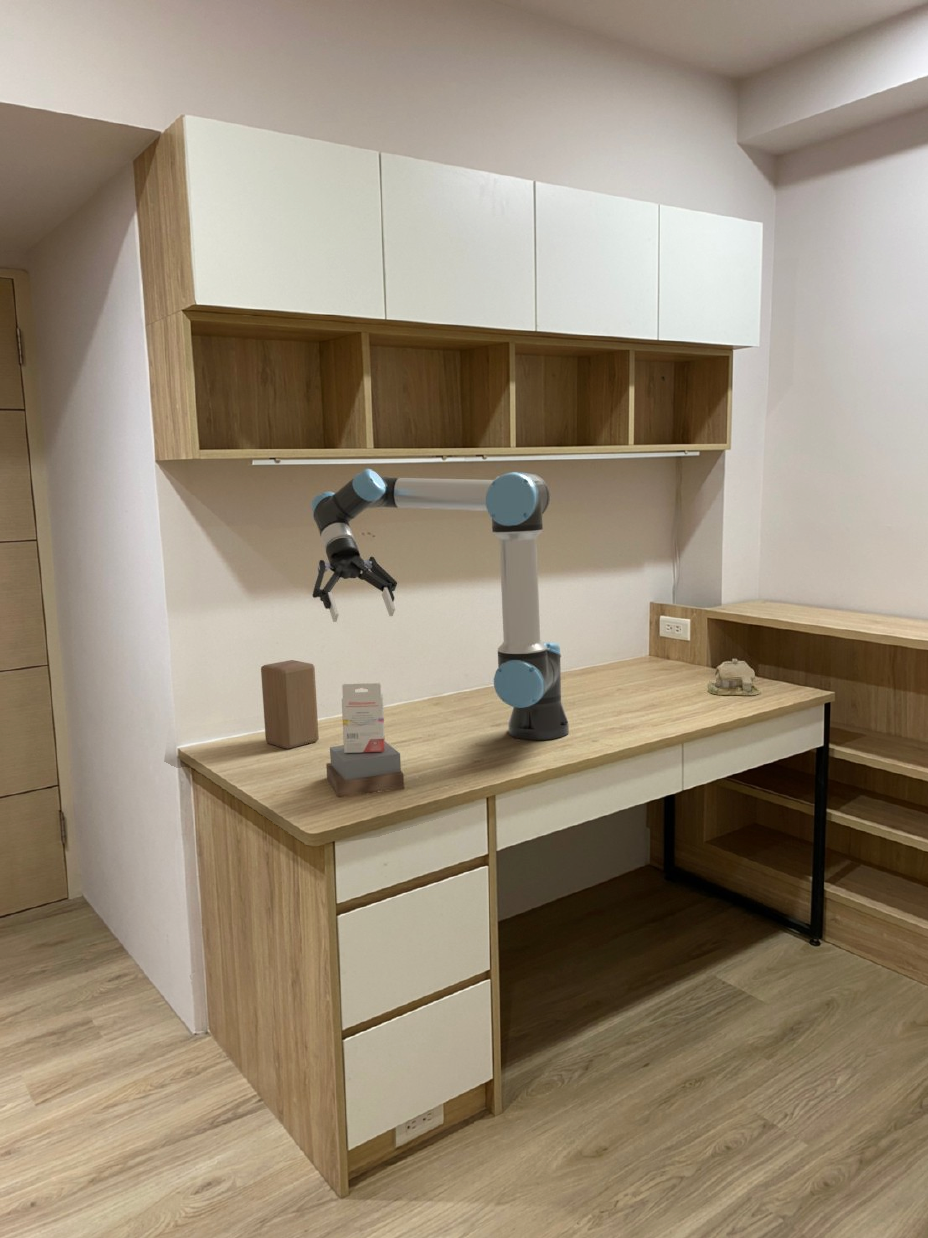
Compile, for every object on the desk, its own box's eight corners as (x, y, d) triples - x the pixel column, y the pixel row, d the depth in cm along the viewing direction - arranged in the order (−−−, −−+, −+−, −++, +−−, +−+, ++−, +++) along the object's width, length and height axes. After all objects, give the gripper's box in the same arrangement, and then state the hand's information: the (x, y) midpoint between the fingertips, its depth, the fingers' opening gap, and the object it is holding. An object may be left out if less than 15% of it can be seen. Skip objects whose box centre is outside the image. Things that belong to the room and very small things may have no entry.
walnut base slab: (389, 773, 209) (388, 755, 208) (404, 792, 195) (403, 773, 195) (327, 781, 205) (326, 763, 204) (337, 801, 191) (336, 782, 191)
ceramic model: (751, 687, 277) (751, 654, 276) (764, 696, 266) (764, 661, 265) (704, 689, 277) (704, 656, 275) (715, 698, 266) (715, 663, 264)
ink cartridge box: (385, 746, 201) (383, 679, 200) (383, 752, 196) (382, 683, 195) (345, 747, 201) (343, 679, 199) (343, 753, 196) (340, 684, 194)
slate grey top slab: (383, 757, 207) (382, 739, 207) (400, 771, 196) (400, 753, 196) (330, 765, 203) (329, 747, 202) (345, 780, 192) (344, 761, 191)
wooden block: (264, 743, 234) (259, 665, 231) (297, 735, 241) (292, 658, 238) (286, 750, 227) (281, 669, 224) (320, 741, 234) (315, 663, 231)
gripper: (385, 553, 232) (411, 620, 221) (287, 560, 222) (308, 630, 211) (392, 533, 227) (419, 600, 216) (291, 538, 216) (314, 609, 205)
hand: (364, 615), depth 213 cm, fingers open, 13 cm apart
